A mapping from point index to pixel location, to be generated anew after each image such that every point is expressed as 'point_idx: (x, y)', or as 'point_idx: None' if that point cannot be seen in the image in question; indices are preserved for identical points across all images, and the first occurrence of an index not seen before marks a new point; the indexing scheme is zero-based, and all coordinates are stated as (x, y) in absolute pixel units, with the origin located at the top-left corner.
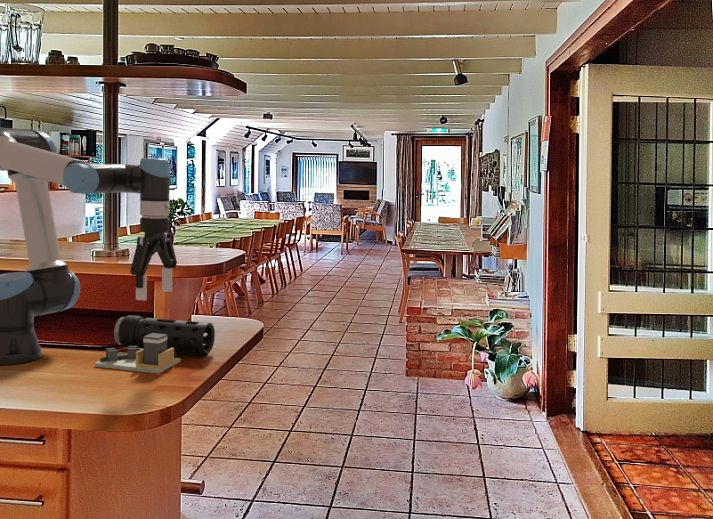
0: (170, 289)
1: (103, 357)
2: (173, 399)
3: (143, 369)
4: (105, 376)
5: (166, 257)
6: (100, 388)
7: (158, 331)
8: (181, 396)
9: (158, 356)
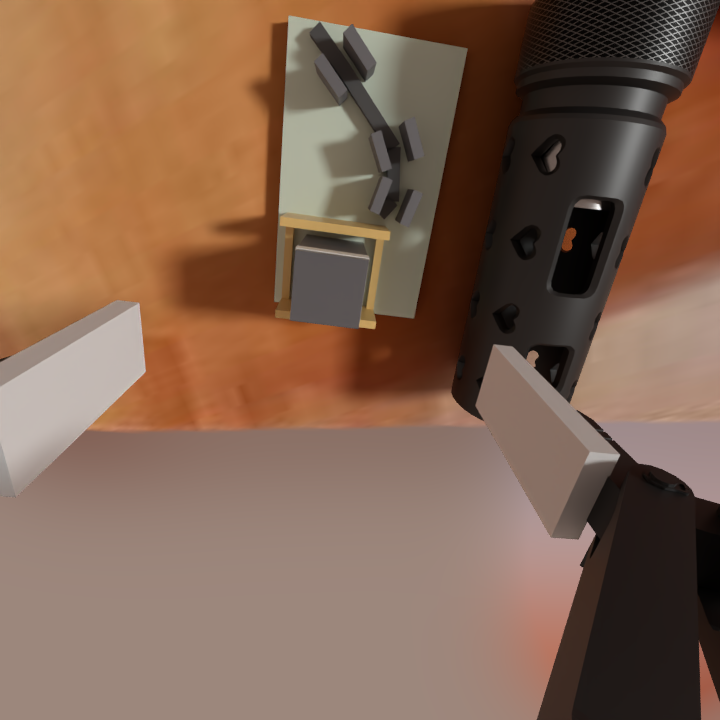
0: (481, 412)
1: (327, 35)
2: None
3: (277, 245)
4: (190, 134)
5: (556, 669)
6: (70, 182)
7: (507, 226)
8: (115, 421)
9: (277, 308)
